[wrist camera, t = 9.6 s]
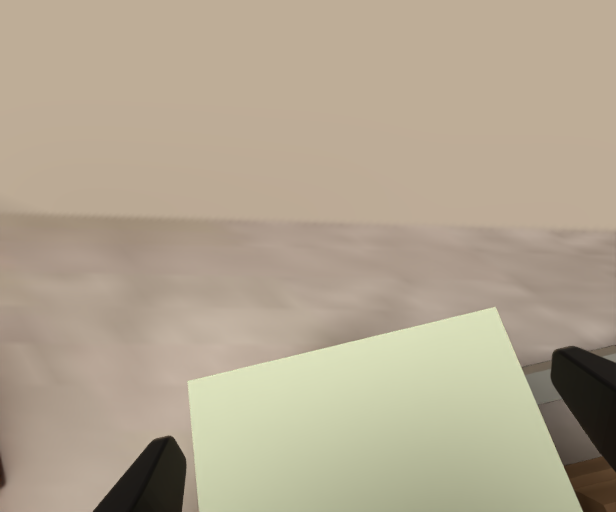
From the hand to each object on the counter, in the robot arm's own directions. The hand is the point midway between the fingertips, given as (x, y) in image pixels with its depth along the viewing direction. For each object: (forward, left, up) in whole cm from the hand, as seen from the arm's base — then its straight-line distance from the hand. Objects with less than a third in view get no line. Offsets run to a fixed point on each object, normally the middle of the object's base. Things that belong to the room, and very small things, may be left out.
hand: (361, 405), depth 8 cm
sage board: (0, 0, -8) cm, 8 cm away
